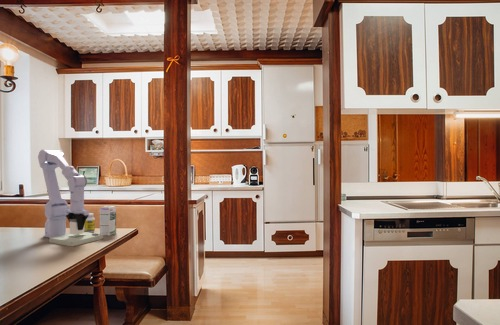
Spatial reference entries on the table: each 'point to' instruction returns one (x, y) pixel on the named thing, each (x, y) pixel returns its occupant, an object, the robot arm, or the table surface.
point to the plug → (75, 227)
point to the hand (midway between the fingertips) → (77, 229)
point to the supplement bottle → (89, 223)
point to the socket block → (76, 238)
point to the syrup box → (108, 220)
